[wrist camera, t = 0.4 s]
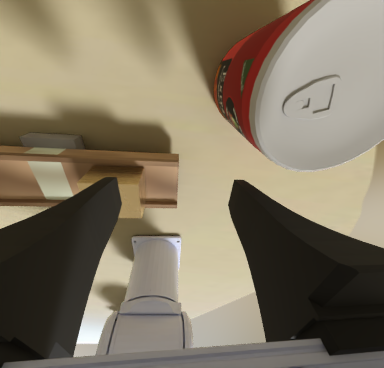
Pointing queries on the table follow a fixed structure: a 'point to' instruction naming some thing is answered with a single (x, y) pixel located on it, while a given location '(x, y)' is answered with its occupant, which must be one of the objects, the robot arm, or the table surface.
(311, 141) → the canned food
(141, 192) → the block
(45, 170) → the beam
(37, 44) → the table surface
